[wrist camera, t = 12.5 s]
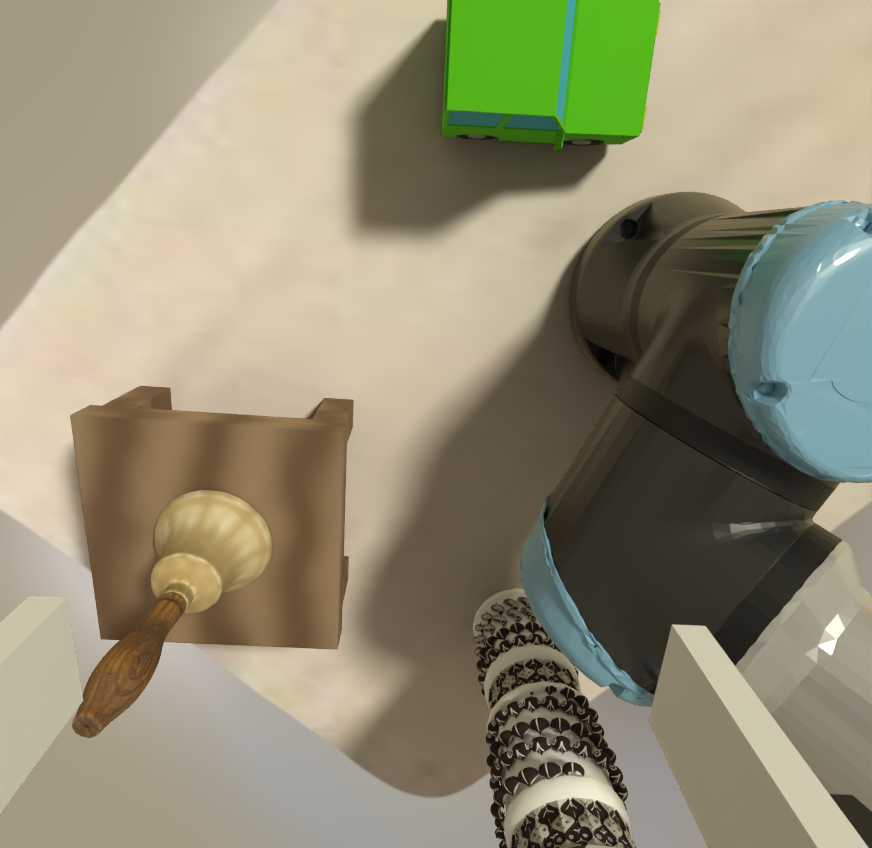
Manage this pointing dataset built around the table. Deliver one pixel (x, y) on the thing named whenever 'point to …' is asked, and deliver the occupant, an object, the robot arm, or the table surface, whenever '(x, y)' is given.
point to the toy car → (548, 70)
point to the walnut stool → (227, 472)
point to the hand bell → (178, 592)
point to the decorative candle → (543, 738)
